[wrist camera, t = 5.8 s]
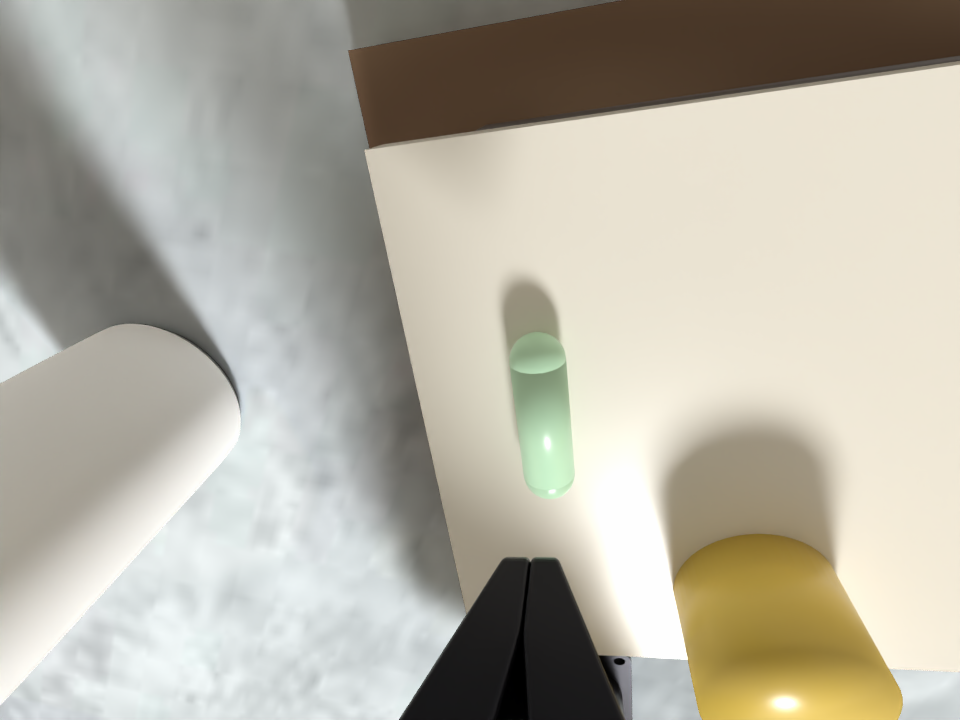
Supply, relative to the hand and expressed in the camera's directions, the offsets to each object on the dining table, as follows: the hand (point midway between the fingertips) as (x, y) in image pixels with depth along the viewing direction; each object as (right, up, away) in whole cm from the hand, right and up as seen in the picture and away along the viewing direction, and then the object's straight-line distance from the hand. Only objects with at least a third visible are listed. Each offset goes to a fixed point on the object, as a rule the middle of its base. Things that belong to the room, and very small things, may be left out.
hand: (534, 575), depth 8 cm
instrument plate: (+6, +2, +5) cm, 8 cm away
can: (-13, +2, +13) cm, 18 cm away
